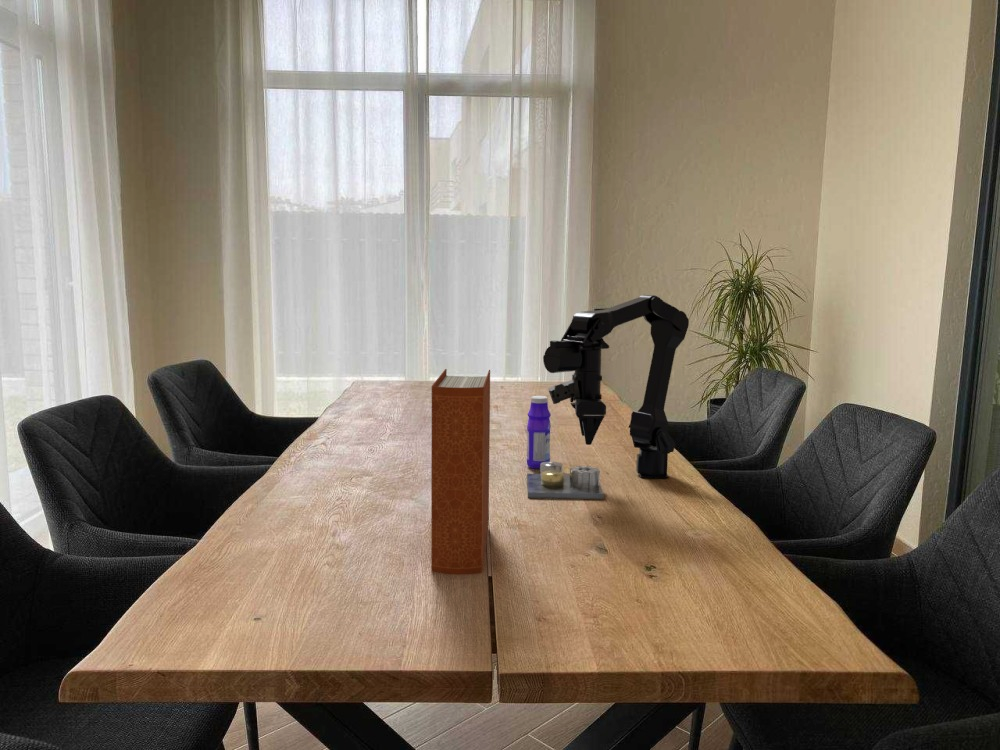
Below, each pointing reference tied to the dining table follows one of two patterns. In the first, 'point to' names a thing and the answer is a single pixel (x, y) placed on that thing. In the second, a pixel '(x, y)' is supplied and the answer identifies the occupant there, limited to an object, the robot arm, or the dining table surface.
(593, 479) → the planet gear
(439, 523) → the book
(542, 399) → the bottle
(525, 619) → the dining table surface
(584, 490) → the plate
